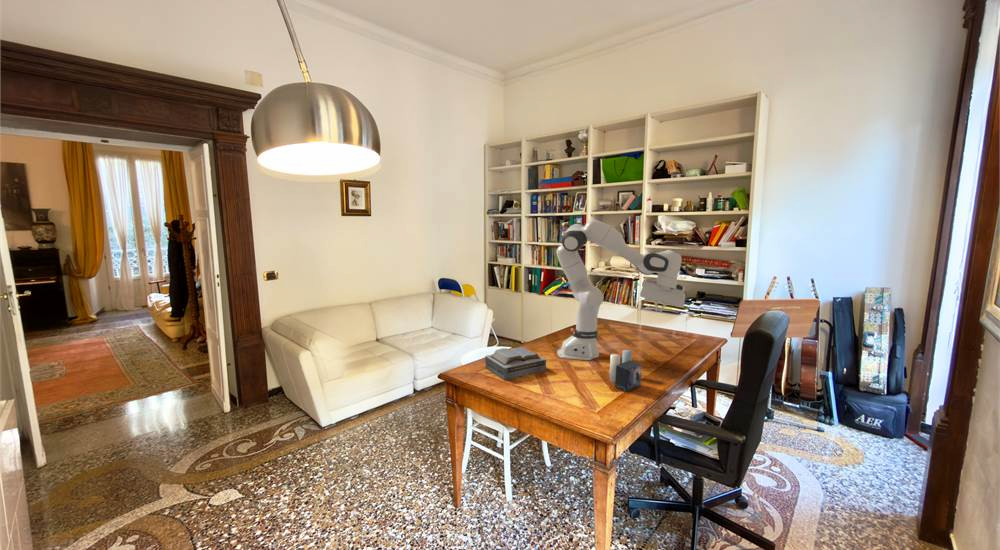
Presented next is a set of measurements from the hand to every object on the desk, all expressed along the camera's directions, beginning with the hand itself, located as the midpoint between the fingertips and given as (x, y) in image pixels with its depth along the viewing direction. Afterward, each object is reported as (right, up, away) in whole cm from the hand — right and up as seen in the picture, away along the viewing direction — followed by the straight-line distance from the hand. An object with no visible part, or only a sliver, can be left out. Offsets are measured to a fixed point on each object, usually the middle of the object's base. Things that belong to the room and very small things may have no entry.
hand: (658, 311), depth 193 cm
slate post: (-17, -30, -5) cm, 35 cm away
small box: (-20, -32, -18) cm, 42 cm away
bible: (-69, -30, +4) cm, 75 cm away
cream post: (-24, -31, -10) cm, 41 cm away
